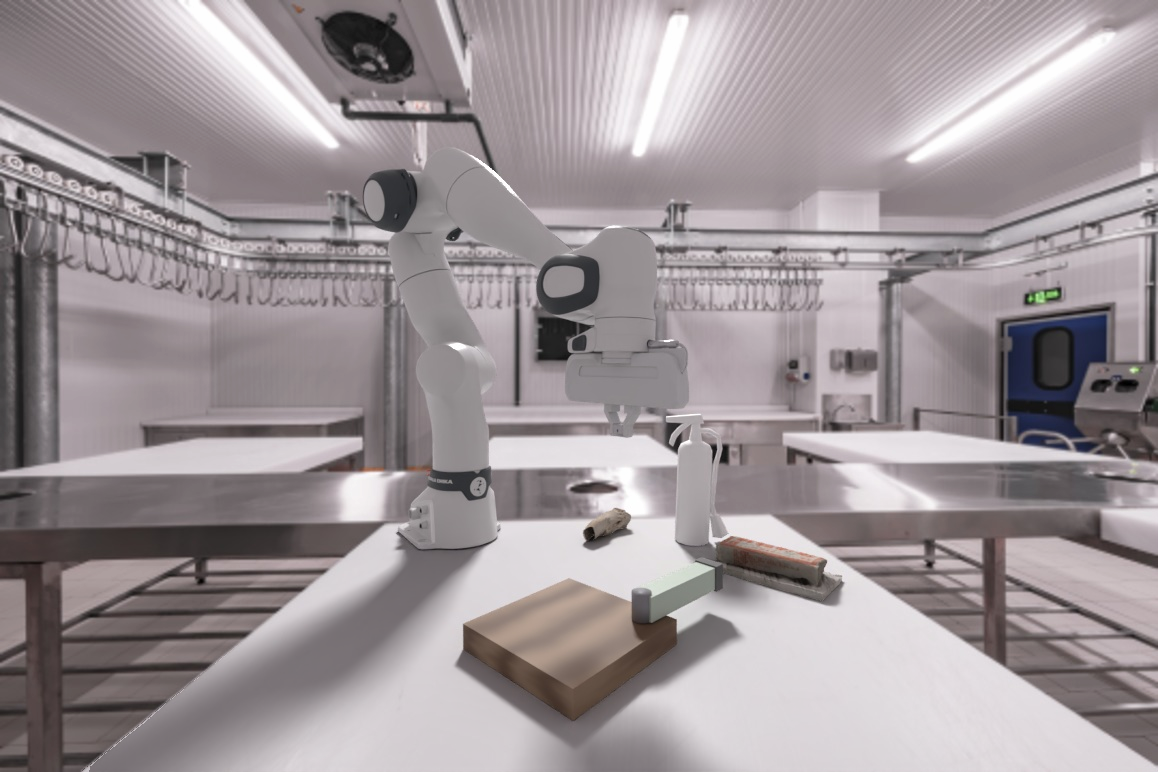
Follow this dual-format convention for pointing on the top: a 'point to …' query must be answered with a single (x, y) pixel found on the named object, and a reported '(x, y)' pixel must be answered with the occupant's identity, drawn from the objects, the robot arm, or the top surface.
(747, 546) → the packaged product
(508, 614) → the stool seat
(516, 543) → the top surface
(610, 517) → the bone fragment
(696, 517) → the fire extinguisher
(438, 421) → the robot arm
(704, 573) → the hinged leg
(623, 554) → the top surface
